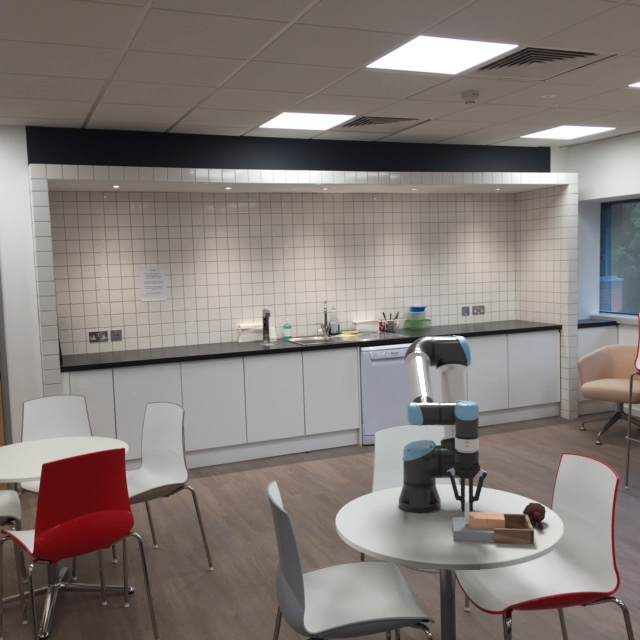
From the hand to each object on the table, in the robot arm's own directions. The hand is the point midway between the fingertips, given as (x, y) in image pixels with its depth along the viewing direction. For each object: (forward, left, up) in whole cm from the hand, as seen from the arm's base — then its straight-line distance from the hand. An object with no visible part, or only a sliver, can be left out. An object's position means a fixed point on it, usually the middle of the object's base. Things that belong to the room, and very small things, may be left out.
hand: (466, 521), depth 228 cm
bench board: (0, +2, -4) cm, 5 cm away
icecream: (-12, +23, -5) cm, 27 cm away
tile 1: (0, +4, -1) cm, 4 cm away
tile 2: (0, +9, -1) cm, 9 cm away
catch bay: (0, +14, -4) cm, 15 cm away
